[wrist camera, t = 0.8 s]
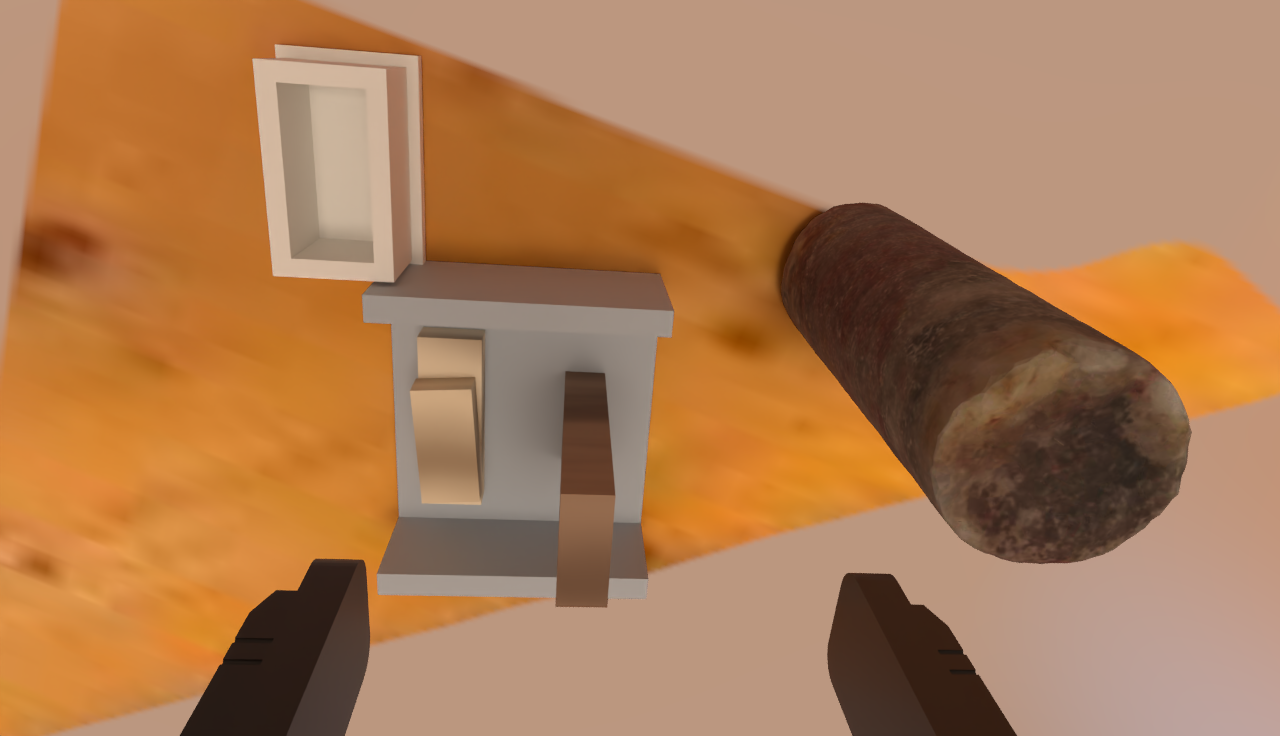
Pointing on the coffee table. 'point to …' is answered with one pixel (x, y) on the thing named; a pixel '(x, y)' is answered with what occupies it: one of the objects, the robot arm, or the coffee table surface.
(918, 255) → the brown log
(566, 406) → the slat
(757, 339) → the coffee table surface
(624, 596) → the rack
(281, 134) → the holder
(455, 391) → the offcut short
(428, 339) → the block
